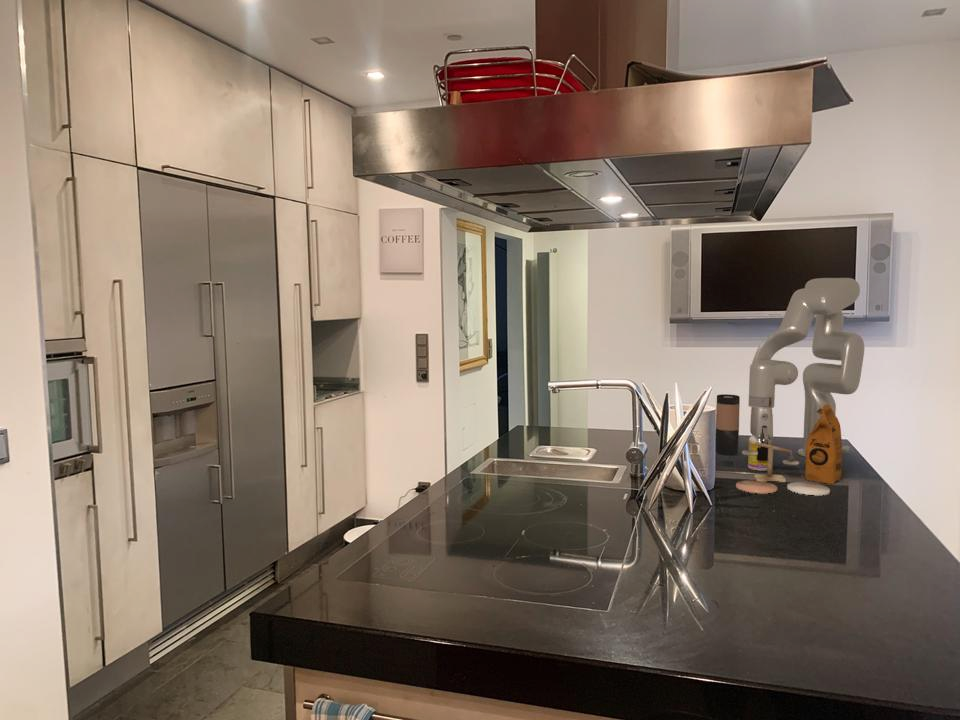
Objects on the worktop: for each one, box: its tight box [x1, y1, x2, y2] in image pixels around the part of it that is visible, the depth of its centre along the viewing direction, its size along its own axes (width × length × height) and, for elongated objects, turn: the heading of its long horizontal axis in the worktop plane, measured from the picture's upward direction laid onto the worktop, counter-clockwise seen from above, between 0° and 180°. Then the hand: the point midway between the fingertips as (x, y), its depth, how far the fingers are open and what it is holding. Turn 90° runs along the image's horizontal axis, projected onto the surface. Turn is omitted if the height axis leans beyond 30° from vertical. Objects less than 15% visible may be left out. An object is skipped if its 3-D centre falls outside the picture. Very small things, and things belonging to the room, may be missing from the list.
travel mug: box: [715, 394, 741, 456], centre depth 245 cm, size 8×8×20 cm
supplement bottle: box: [747, 435, 772, 472], centre depth 224 cm, size 7×7×13 cm
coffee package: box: [804, 404, 843, 485], centre depth 212 cm, size 10×12×22 cm
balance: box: [741, 441, 800, 483], centre depth 211 cm, size 16×4×12 cm, turn 82°
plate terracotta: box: [735, 480, 778, 495], centre depth 203 cm, size 11×11×1 cm
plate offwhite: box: [786, 481, 831, 497], centre depth 201 cm, size 11×11×1 cm
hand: (759, 457), depth 224 cm, fingers closed on supplement bottle, 6 cm apart
